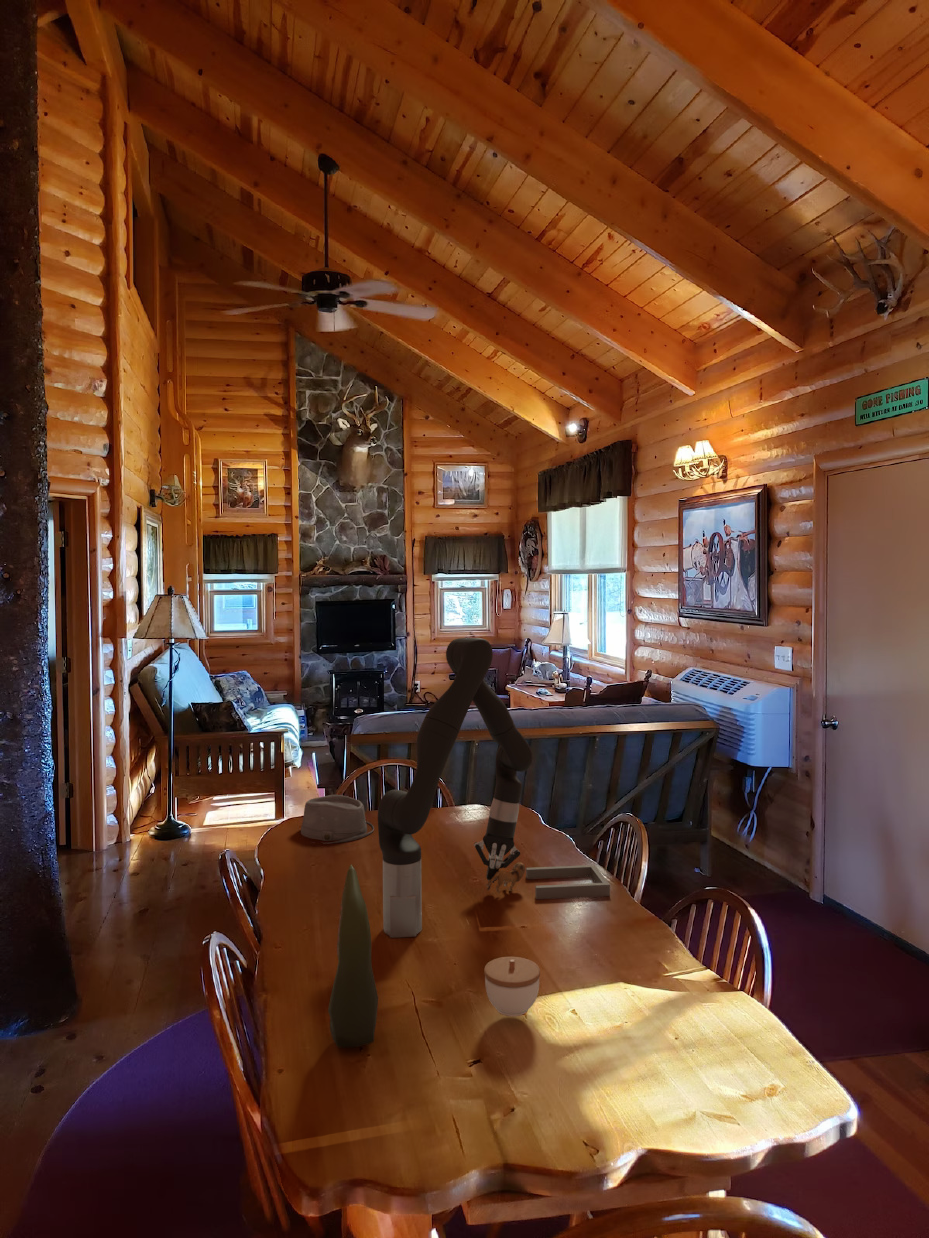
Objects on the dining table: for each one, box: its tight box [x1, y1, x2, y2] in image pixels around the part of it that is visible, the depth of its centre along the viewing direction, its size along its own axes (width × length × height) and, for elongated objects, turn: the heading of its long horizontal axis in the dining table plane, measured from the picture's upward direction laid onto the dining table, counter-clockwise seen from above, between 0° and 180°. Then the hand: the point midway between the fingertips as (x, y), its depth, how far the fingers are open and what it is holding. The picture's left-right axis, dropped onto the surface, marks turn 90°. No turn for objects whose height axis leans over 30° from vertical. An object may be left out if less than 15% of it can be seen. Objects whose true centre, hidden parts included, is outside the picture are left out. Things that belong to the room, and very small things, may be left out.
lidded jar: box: [483, 956, 541, 1018], centre depth 155 cm, size 11×11×9 cm
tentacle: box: [327, 864, 379, 1048], centre depth 145 cm, size 9×12×30 cm
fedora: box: [300, 794, 375, 845], centre depth 263 cm, size 24×27×12 cm
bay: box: [525, 864, 611, 900], centre depth 217 cm, size 15×20×3 cm
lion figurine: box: [485, 861, 526, 894], centre depth 213 cm, size 12×4×7 cm, turn 140°
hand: (491, 881), depth 214 cm, fingers closed
